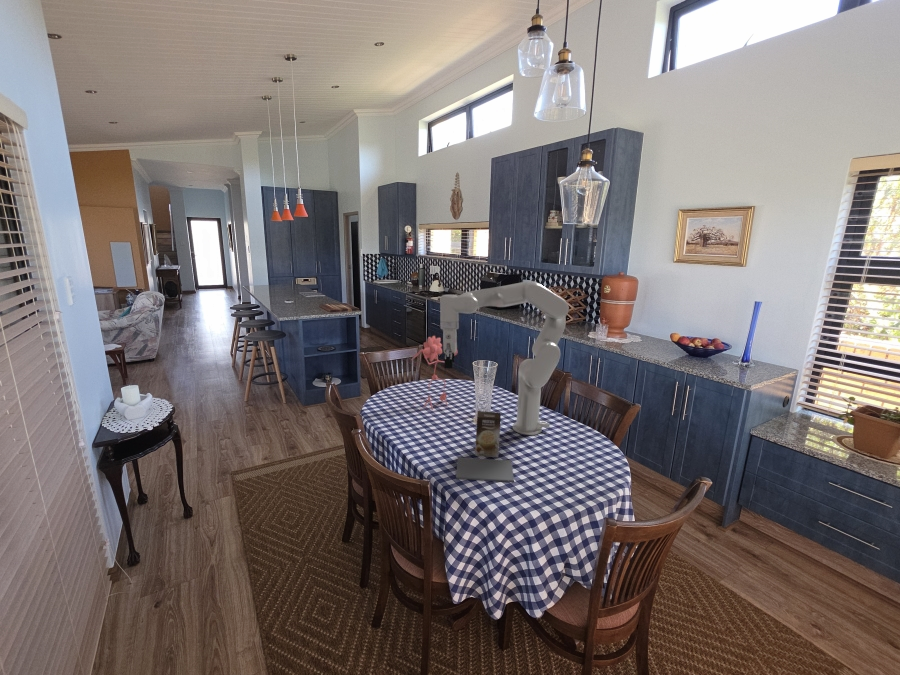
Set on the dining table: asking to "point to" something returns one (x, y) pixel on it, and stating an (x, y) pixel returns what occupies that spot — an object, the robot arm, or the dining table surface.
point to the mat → (484, 469)
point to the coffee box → (487, 434)
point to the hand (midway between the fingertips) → (449, 364)
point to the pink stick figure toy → (432, 352)
